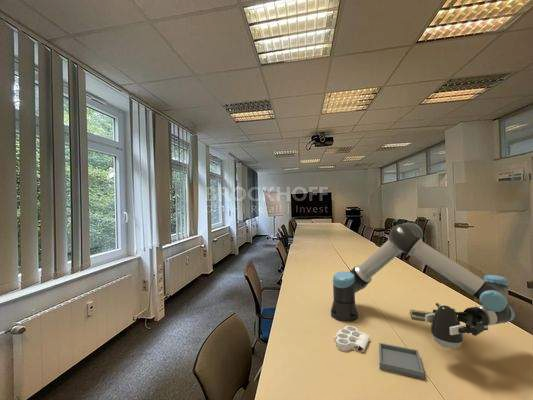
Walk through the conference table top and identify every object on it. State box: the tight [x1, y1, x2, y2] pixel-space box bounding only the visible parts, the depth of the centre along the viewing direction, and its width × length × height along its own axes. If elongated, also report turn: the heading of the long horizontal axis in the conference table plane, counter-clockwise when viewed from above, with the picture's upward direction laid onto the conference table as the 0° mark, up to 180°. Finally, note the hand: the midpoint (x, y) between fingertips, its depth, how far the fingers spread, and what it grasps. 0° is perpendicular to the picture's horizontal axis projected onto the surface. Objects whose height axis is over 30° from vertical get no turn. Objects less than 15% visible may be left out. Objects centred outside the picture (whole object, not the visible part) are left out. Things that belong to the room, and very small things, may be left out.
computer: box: [409, 309, 433, 323], centre depth 134 cm, size 16×8×3 cm, turn 66°
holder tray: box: [378, 342, 425, 380], centre depth 98 cm, size 15×15×2 cm
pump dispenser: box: [430, 302, 464, 350], centre depth 97 cm, size 10×10×15 cm
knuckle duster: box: [332, 325, 371, 353], centre depth 114 cm, size 3×18×15 cm
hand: (437, 324), depth 96 cm, fingers closed on pump dispenser, 9 cm apart
